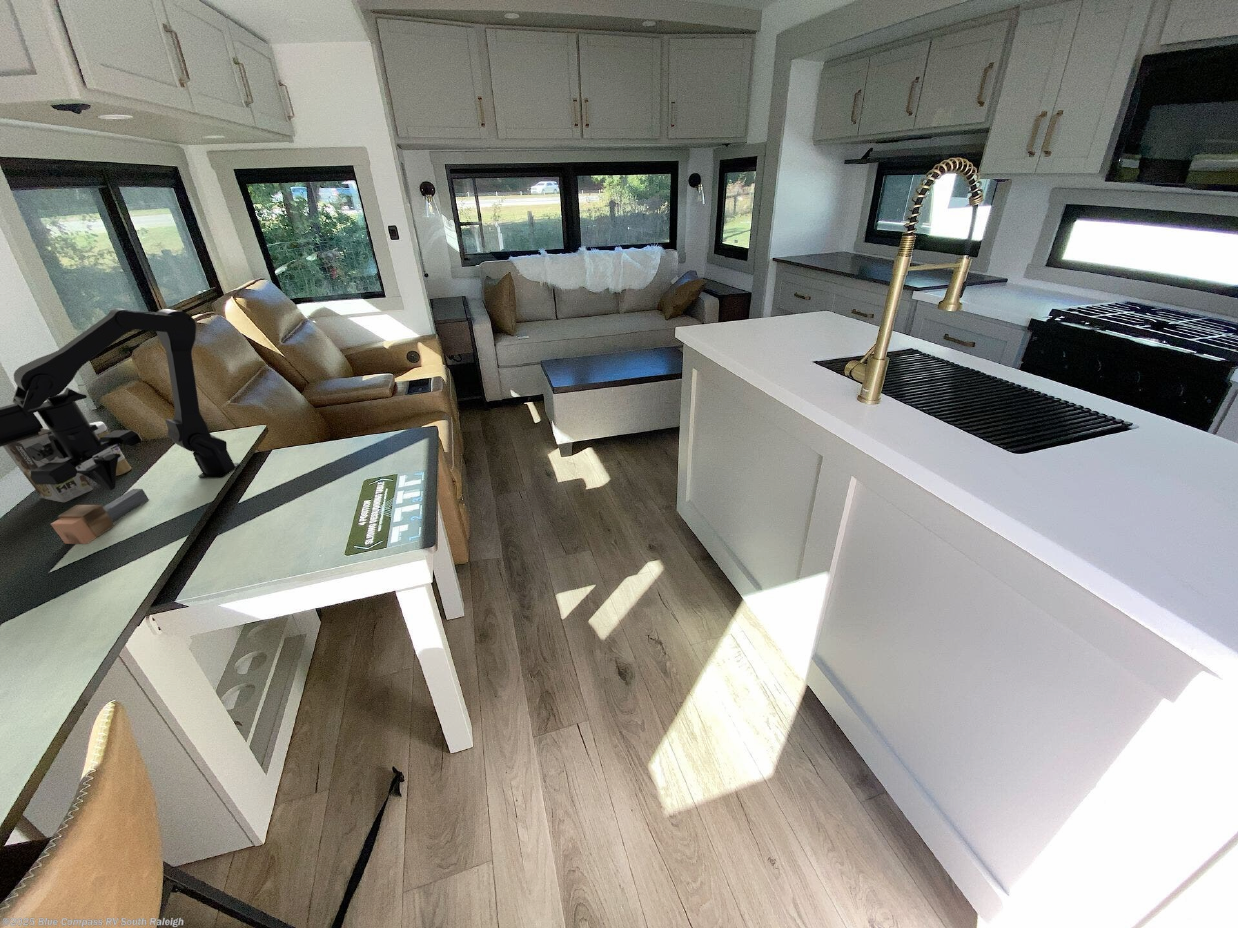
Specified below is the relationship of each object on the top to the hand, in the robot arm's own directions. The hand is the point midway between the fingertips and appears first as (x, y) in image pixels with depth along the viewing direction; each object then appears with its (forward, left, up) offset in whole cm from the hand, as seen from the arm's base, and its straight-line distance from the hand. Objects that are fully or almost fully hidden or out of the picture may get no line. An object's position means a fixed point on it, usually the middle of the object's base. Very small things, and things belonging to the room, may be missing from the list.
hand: (111, 489), depth 113 cm
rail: (0, +3, -6) cm, 7 cm away
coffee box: (+23, -7, -6) cm, 25 cm away
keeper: (0, +7, -6) cm, 9 cm away
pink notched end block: (0, +10, -6) cm, 12 cm away
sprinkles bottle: (+19, -17, -6) cm, 26 cm away
